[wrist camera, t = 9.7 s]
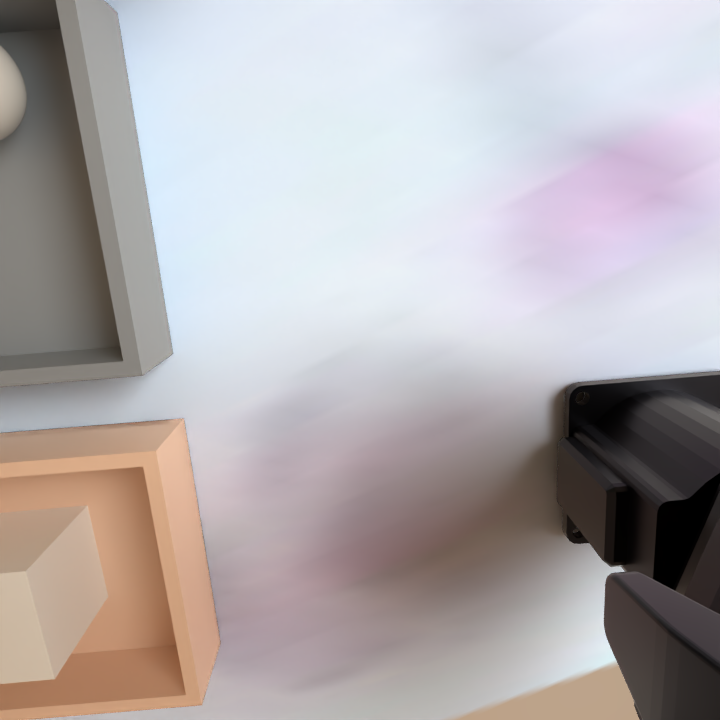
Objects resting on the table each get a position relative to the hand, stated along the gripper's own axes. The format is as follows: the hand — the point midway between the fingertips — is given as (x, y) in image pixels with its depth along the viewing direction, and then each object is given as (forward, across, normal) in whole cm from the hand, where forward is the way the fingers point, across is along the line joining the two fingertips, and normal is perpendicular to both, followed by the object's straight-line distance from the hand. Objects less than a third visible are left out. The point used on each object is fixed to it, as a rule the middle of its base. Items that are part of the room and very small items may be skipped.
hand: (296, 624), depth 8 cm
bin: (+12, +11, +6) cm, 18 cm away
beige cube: (+12, +11, +6) cm, 18 cm away
